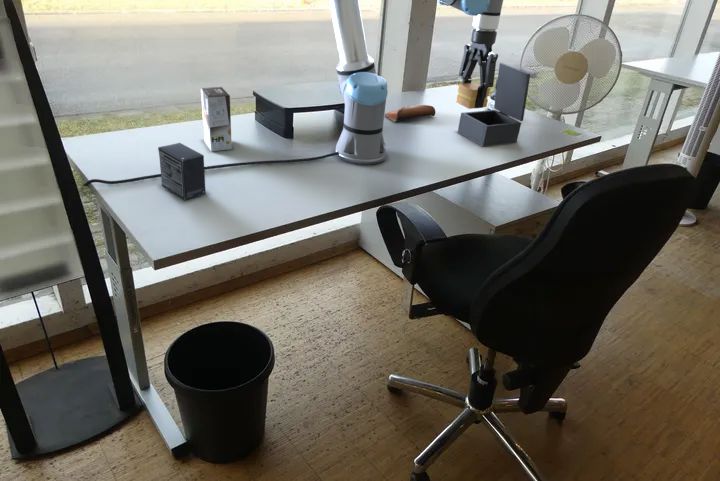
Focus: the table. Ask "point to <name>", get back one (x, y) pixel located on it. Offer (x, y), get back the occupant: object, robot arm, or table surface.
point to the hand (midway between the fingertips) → (471, 103)
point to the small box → (182, 171)
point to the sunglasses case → (411, 112)
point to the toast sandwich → (469, 95)
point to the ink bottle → (493, 100)
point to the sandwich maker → (489, 127)
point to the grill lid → (512, 90)
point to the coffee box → (216, 118)
